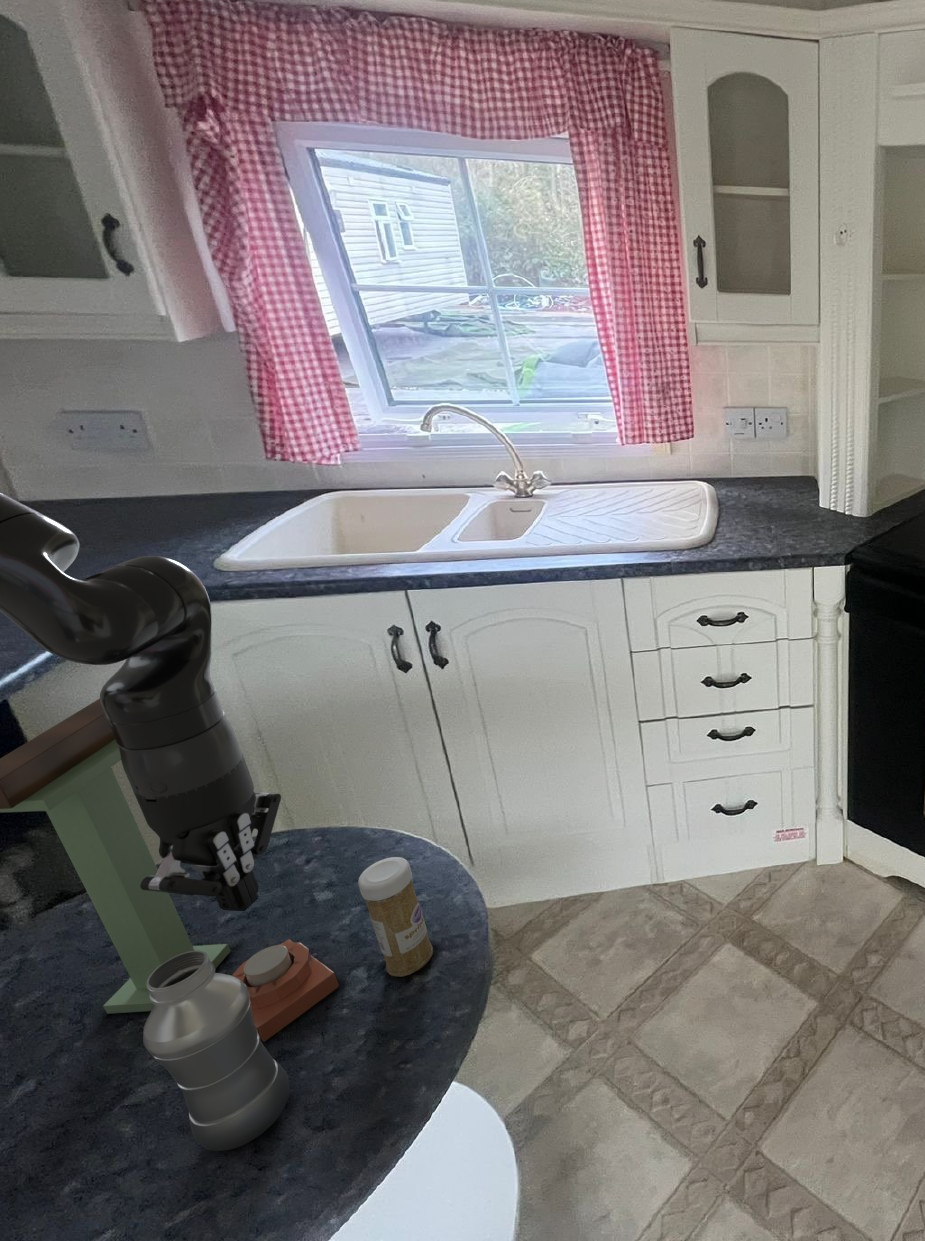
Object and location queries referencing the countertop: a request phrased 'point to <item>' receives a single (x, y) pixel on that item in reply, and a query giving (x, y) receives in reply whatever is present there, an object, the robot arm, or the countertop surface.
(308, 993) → the orange button pad
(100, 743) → the brown wooden bar
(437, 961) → the countertop surface
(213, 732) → the robot arm
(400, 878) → the sprinkles bottle
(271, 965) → the push button
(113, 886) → the shelf stand
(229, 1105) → the grey bottle
